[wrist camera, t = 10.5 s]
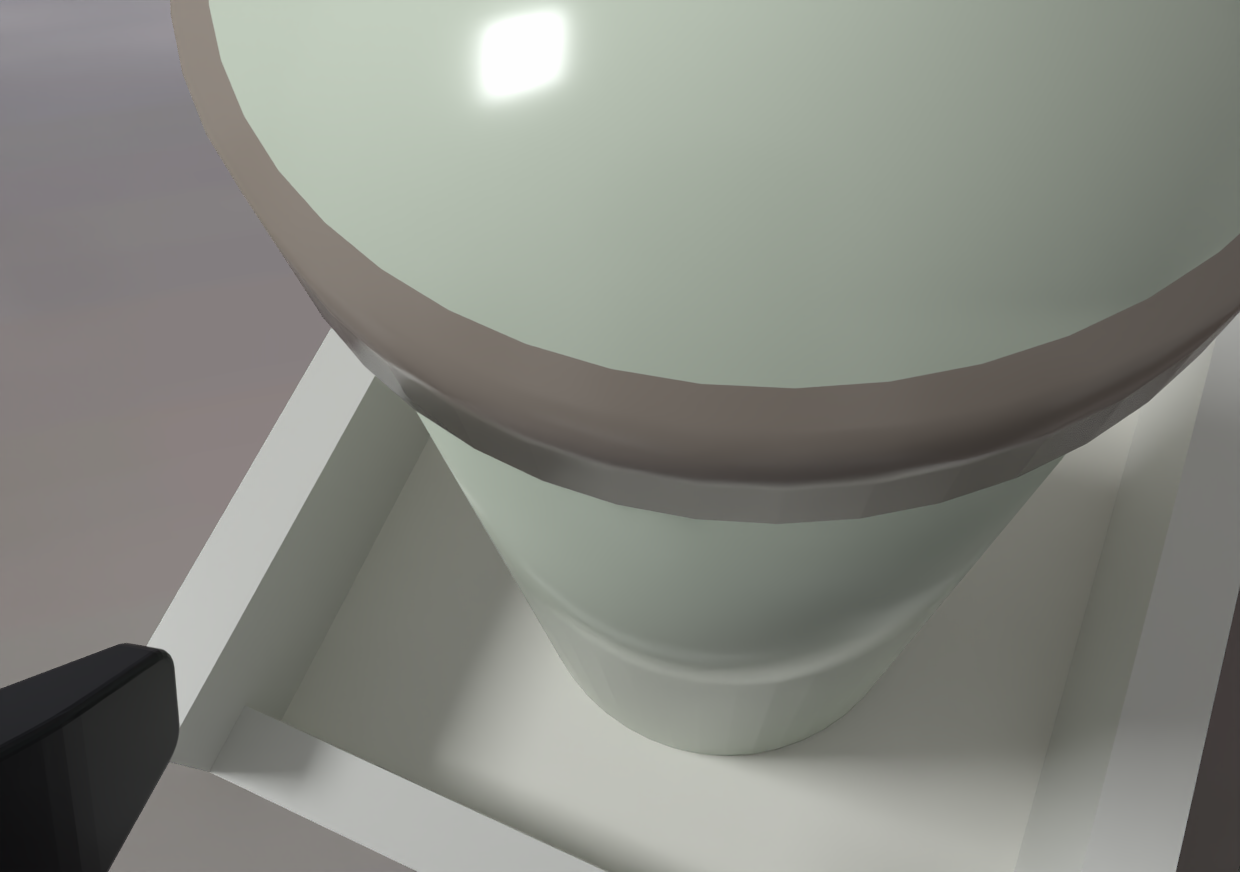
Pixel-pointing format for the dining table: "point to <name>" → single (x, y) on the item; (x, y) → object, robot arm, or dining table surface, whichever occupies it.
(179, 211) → the dining table surface
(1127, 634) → the tray
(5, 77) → the dining table surface
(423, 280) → the sage jar
